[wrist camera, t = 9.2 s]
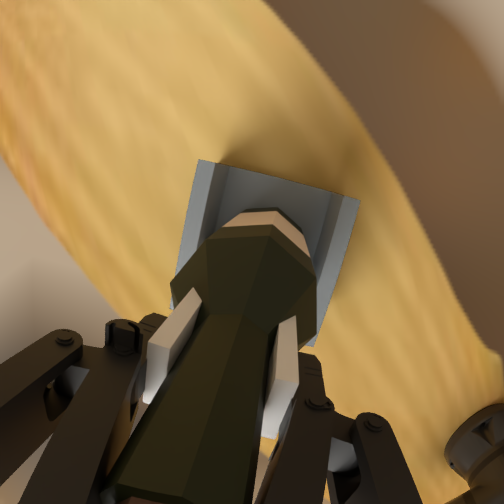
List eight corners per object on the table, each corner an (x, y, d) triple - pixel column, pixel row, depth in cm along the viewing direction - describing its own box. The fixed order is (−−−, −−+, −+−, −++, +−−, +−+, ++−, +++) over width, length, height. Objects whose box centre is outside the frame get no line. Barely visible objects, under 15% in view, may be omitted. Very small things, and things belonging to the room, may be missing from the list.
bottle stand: (308, 313, 37) (313, 346, 29) (192, 282, 37) (169, 308, 29) (343, 195, 33) (360, 200, 26) (217, 163, 34) (198, 159, 26)
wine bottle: (238, 193, 32) (-55, 305, 3) (316, 221, 32) (480, 489, 3) (214, 269, 34) (26, 521, 5) (288, 294, 34) (277, 608, 5)
